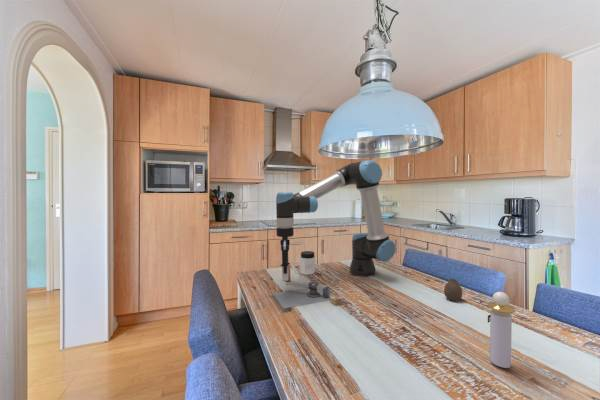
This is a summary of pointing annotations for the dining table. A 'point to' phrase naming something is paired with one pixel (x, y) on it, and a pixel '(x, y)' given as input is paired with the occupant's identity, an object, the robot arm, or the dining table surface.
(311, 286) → the lever
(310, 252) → the jar
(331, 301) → the block
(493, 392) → the dining table surface
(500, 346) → the perfume bottle
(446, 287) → the brown egg shape
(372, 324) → the dining table surface
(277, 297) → the base
